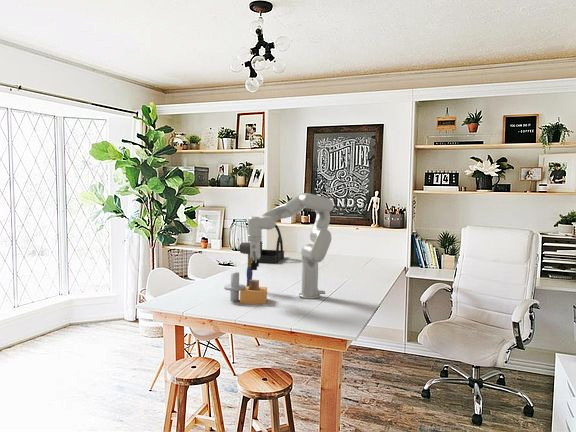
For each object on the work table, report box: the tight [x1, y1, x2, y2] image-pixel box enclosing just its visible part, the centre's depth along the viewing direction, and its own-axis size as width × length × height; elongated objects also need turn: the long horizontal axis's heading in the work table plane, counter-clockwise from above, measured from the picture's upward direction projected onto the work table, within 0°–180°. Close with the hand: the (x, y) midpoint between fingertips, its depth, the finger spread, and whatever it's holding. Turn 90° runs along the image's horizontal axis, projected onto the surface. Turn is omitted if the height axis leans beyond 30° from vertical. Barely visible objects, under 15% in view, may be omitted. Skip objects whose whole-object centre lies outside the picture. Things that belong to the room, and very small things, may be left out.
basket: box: [258, 224, 285, 265], centre depth 402 cm, size 35×21×35 cm, turn 168°
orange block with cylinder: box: [223, 271, 268, 305], centre depth 265 cm, size 24×12×16 cm, turn 88°
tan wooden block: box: [249, 279, 260, 290], centre depth 265 cm, size 5×4×12 cm
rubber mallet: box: [238, 242, 261, 286], centre depth 291 cm, size 12×8×30 cm, turn 68°
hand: (255, 268), depth 264 cm, fingers open, 9 cm apart
